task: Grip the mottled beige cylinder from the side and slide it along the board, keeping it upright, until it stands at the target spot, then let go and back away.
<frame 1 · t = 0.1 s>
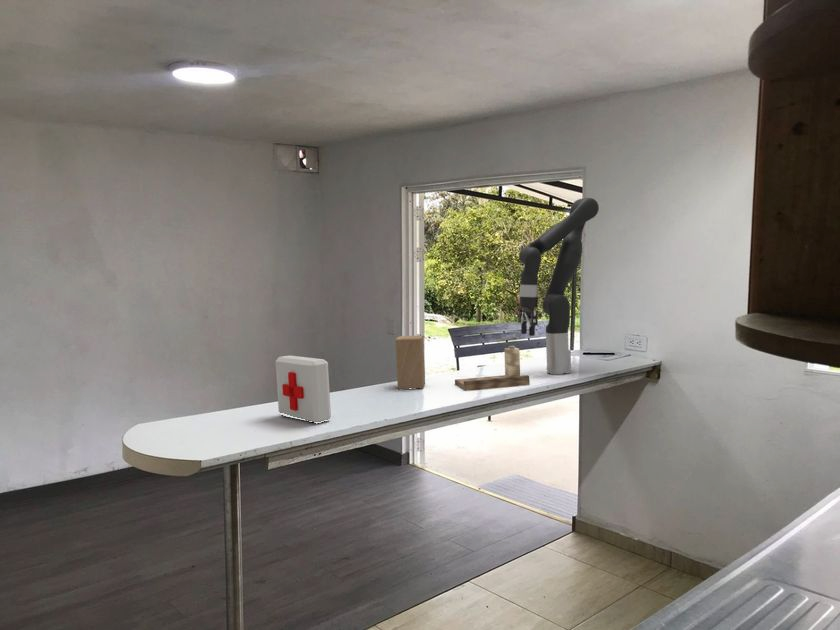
hand: (527, 334, 274), 17 cm above the breakfast bar, tool pointing down, fingers open, 8 cm apart
board: (491, 384, 259), on the breakfast bar
mottled beige cylinder: (512, 378, 258), point 2 cm above the breakfast bar, touching board
wooden block: (411, 387, 262), on the breakfast bar
bevelled white case: (303, 419, 215), on the breakfast bar
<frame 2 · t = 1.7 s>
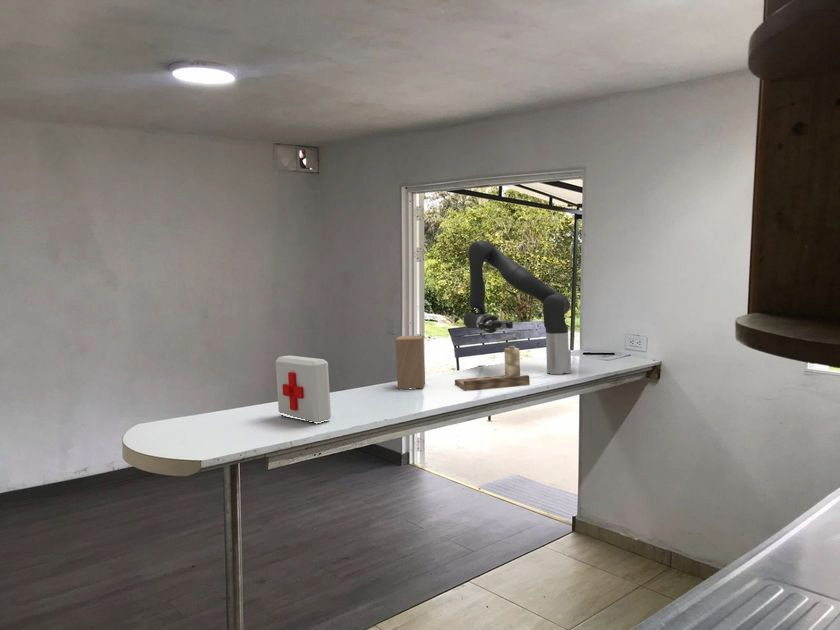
hand: (501, 326, 268), 22 cm above the breakfast bar, tool horizontal, fingers open, 8 cm apart
nothing on the breakfast bar moved.
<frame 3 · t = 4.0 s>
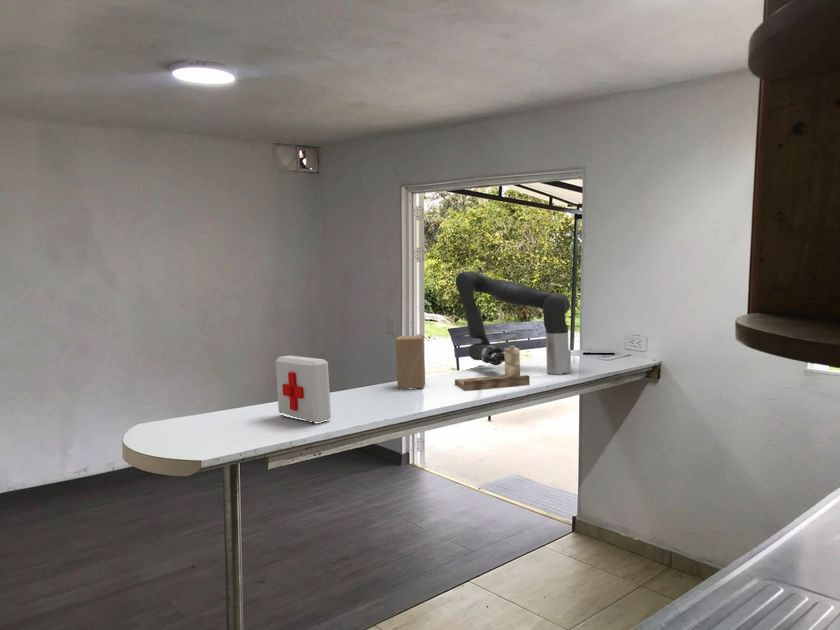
hand: (506, 360, 264), 9 cm above the breakfast bar, tool horizontal, fingers open, 8 cm apart
nothing on the breakfast bar moved.
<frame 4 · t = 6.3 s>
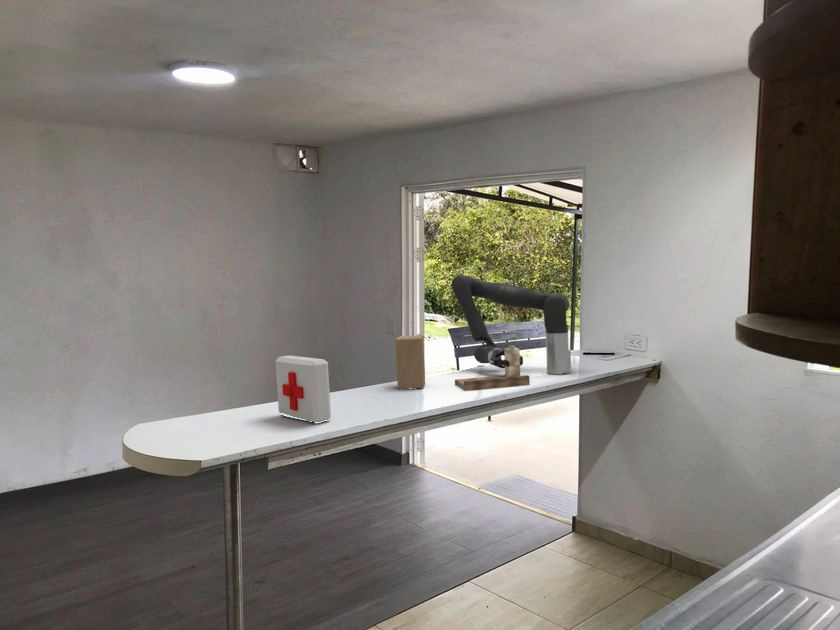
hand: (514, 363, 255), 8 cm above the breakfast bar, tool horizontal, fingers closed on mottled beige cylinder, 4 cm apart
mottled beige cylinder: (512, 378, 258), point 2 cm above the breakfast bar, touching board, gripper
everything else where it was.
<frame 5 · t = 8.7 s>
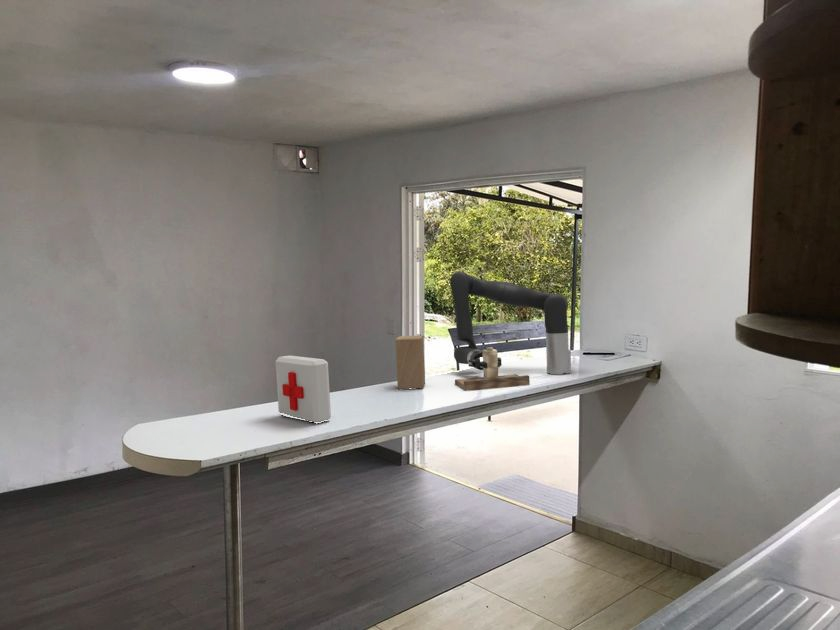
hand: (492, 365, 253), 9 cm above the breakfast bar, tool horizontal, fingers closed on mottled beige cylinder, 4 cm apart
mottled beige cylinder: (491, 380, 256), point 2 cm above the breakfast bar, touching gripper
everything else where it was.
when the fingers open (9 cm above the breakfast bar, at t = 11.5 s): mottled beige cylinder stays where it is, resting on board.
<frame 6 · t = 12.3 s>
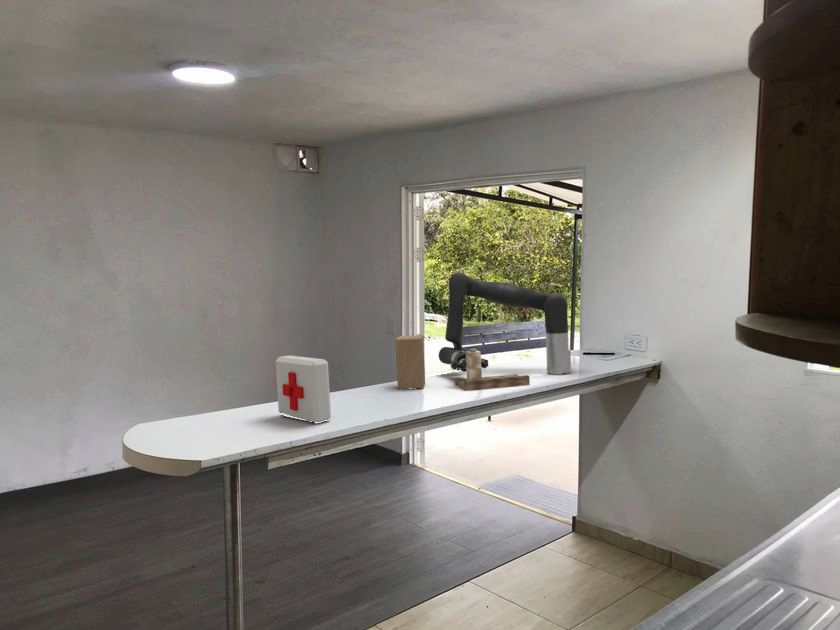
hand: (474, 366, 252), 8 cm above the breakfast bar, tool horizontal, fingers open, 8 cm apart
mottled beige cylinder: (474, 382, 255), point 2 cm above the breakfast bar, touching board
everything else where it was.
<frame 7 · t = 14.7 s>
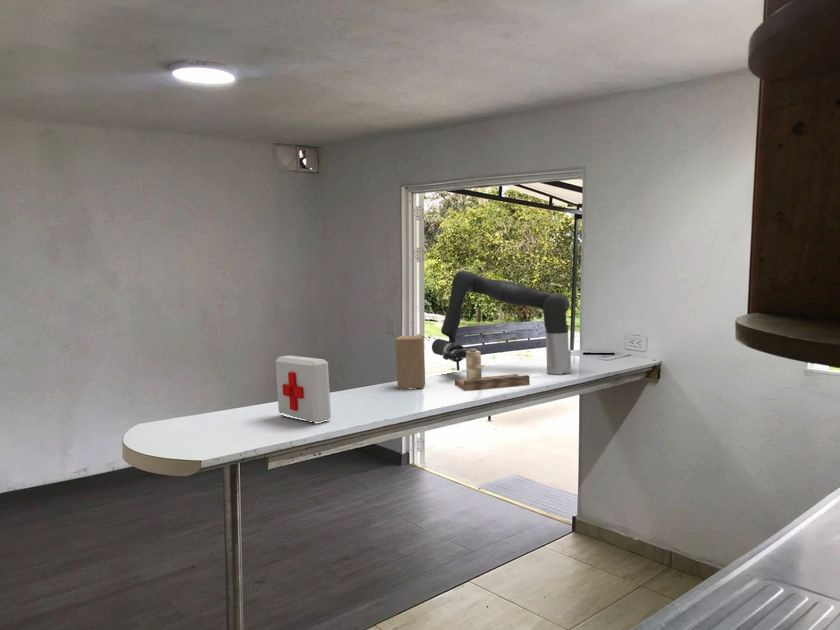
hand: (465, 356, 265), 11 cm above the breakfast bar, tool horizontal, fingers open, 8 cm apart
nothing on the breakfast bar moved.
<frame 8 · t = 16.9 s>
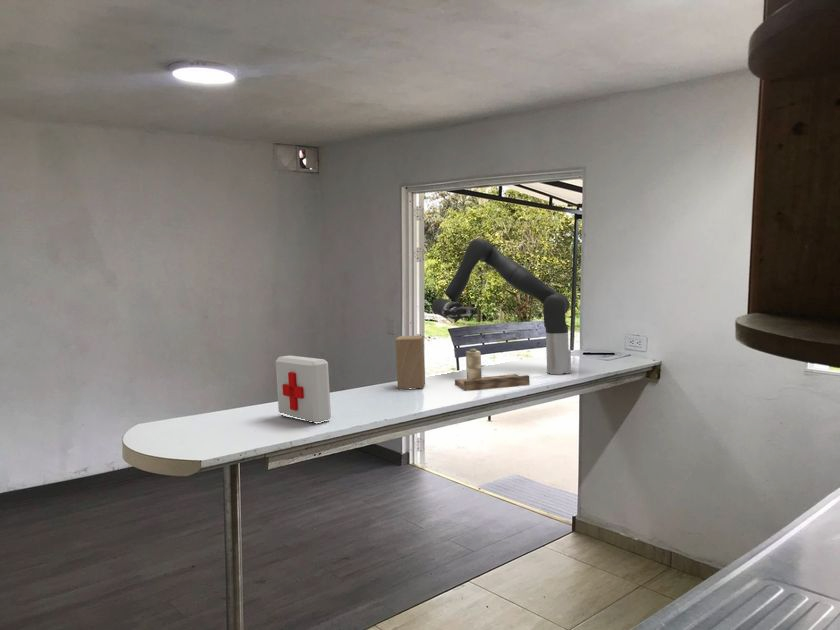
hand: (465, 312, 267), 28 cm above the breakfast bar, tool horizontal, fingers open, 8 cm apart
nothing on the breakfast bar moved.
at the end: mottled beige cylinder 0.1 cm from the target spot, point 2.0 cm above the breakfast bar; mottled beige cylinder tilted 0°; the gripper is holding nothing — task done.
